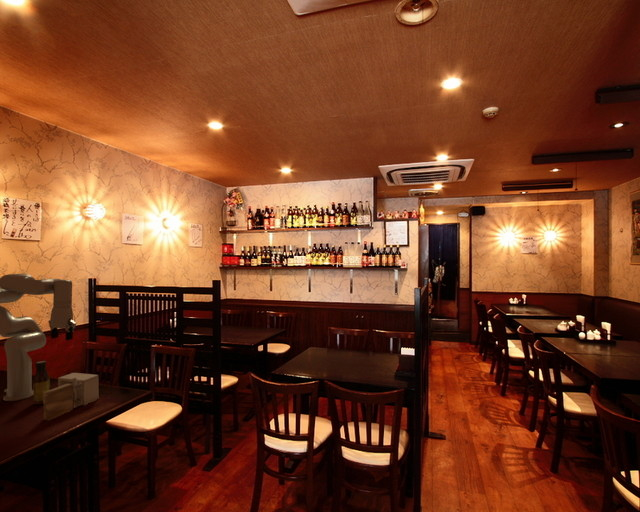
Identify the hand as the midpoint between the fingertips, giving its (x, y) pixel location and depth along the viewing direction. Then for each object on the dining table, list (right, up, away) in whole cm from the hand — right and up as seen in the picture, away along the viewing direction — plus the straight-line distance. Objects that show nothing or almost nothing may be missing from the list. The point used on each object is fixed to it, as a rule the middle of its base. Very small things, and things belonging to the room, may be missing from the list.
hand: (61, 338), depth 175 cm
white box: (+9, -30, -3) cm, 32 cm away
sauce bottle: (-8, -31, -3) cm, 32 cm away
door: (+12, -30, -15) cm, 36 cm away
